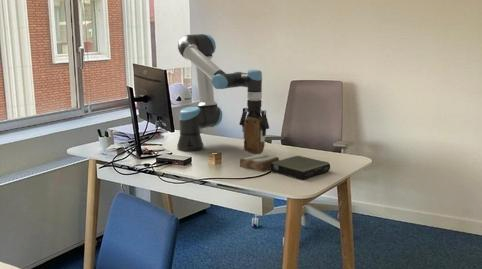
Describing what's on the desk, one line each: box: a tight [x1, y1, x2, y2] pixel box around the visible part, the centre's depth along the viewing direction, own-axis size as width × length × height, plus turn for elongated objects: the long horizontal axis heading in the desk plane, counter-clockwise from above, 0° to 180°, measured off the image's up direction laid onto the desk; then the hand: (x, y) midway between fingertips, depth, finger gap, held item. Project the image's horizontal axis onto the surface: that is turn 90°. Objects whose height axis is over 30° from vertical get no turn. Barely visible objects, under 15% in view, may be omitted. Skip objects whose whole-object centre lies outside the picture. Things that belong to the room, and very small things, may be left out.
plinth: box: [239, 153, 279, 172], centre depth 268 cm, size 14×14×4 cm
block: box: [243, 116, 266, 155], centre depth 284 cm, size 11×8×20 cm
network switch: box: [270, 155, 331, 181], centre depth 258 cm, size 23×23×5 cm
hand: (253, 140), depth 285 cm, fingers closed on block, 11 cm apart
